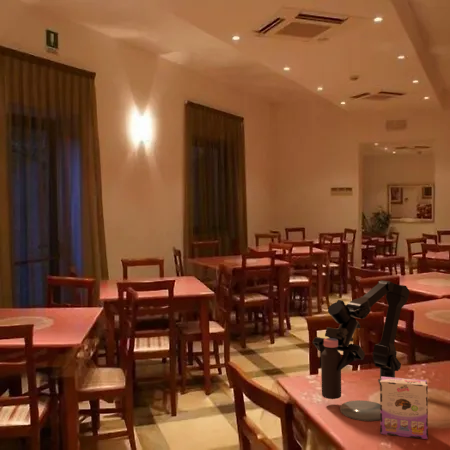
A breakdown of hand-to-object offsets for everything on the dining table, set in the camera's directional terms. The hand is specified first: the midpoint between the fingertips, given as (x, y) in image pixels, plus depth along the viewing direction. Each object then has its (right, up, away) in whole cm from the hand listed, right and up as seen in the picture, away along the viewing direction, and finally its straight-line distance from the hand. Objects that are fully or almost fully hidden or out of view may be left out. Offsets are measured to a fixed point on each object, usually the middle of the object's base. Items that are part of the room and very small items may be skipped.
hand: (329, 368), depth 187 cm
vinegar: (+1, -10, +1) cm, 10 cm away
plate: (+11, -13, -5) cm, 18 cm away
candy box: (+18, -14, -23) cm, 32 cm away
